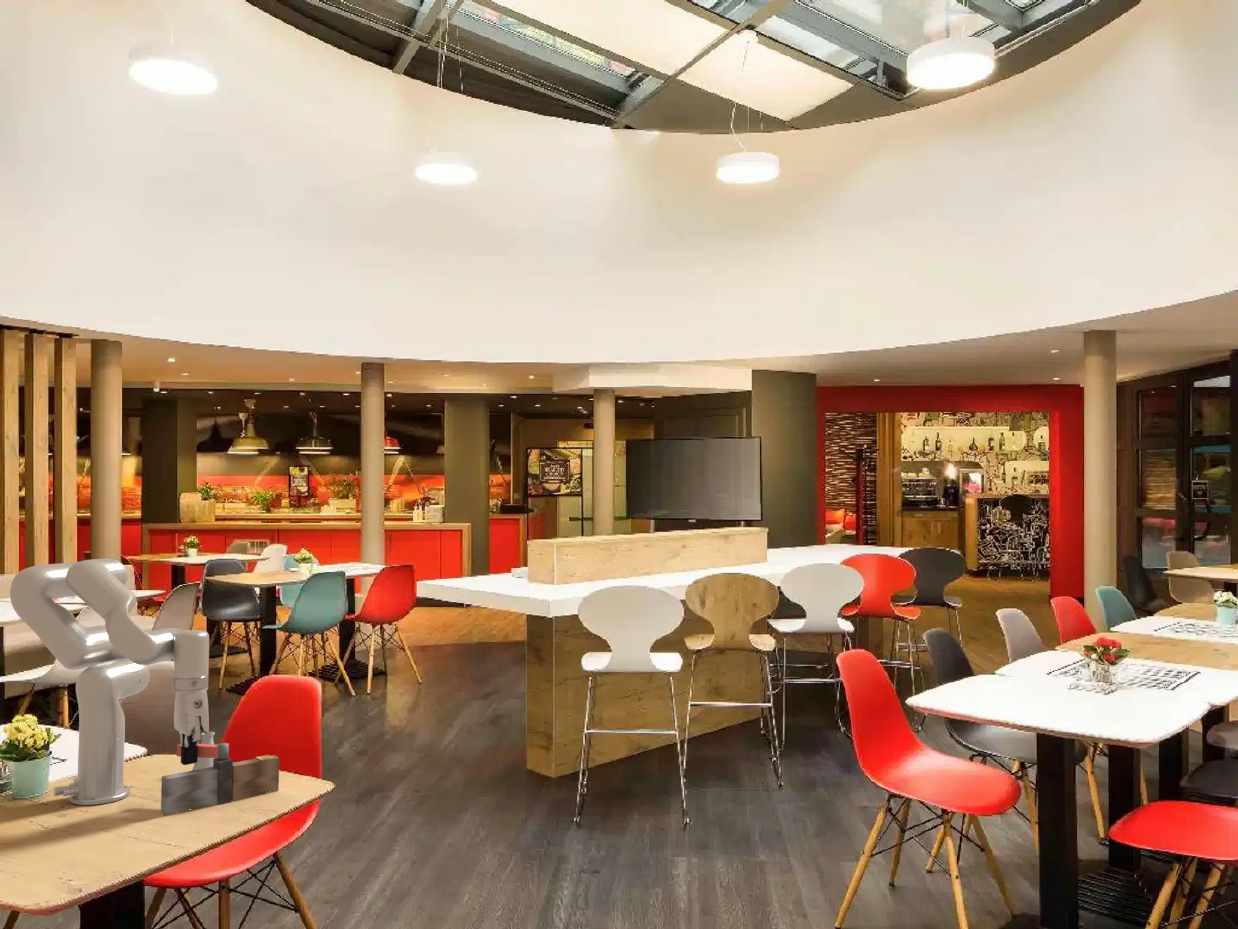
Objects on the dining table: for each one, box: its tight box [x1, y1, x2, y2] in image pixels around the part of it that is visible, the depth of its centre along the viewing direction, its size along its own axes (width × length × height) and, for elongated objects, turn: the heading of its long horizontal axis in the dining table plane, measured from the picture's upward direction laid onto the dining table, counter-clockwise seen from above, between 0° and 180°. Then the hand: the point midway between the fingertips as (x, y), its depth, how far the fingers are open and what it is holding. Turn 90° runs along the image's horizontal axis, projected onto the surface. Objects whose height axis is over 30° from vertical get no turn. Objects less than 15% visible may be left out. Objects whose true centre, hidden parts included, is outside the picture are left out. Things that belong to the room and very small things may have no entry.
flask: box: [191, 731, 216, 771], centre depth 238 cm, size 7×7×10 cm
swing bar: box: [176, 742, 230, 760], centre depth 216 cm, size 12×2×3 cm, turn 83°
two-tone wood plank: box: [160, 754, 280, 817], centre depth 215 cm, size 26×4×10 cm, turn 134°
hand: (189, 763), depth 213 cm, fingers closed
